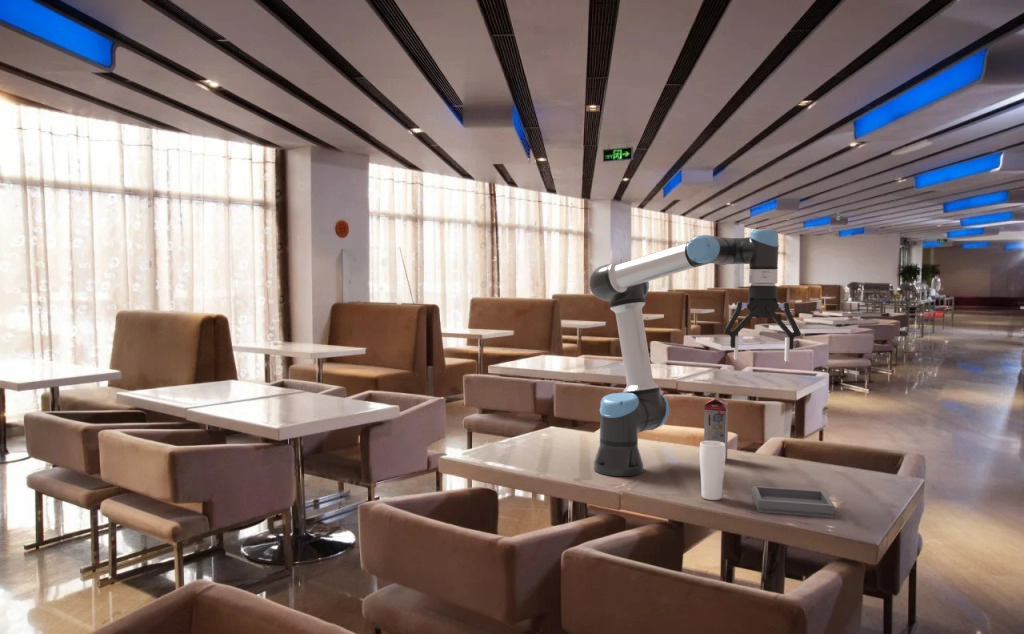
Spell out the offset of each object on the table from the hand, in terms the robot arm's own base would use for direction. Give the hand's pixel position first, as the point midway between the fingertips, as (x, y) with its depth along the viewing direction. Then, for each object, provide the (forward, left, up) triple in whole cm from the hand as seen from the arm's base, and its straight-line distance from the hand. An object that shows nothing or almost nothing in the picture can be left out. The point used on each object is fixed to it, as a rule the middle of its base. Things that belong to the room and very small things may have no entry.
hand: (761, 360), depth 197 cm
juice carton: (-10, +31, -37) cm, 49 cm away
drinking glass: (-13, -13, -37) cm, 41 cm away
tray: (+7, -16, -36) cm, 40 cm away
